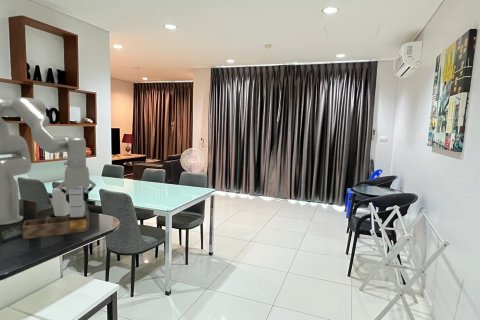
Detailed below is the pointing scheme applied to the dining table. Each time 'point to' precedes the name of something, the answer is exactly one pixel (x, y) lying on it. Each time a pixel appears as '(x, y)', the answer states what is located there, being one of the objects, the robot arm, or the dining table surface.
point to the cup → (60, 203)
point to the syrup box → (77, 202)
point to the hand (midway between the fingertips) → (77, 201)
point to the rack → (54, 226)
